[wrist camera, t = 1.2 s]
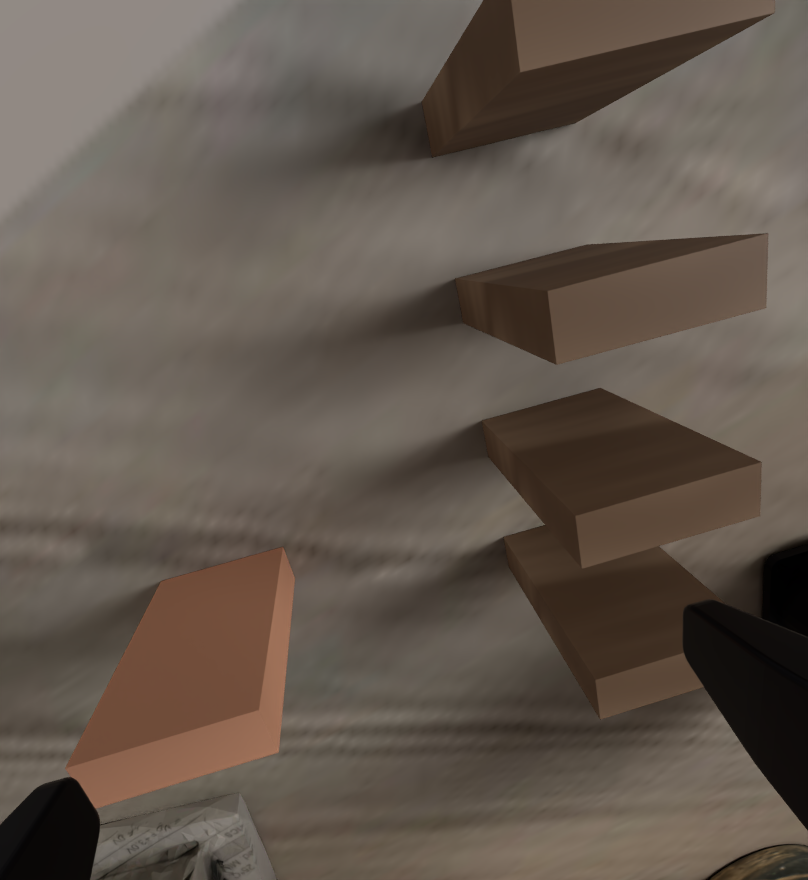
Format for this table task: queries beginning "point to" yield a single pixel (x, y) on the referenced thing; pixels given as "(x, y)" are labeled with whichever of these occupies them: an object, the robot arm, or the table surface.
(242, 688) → the domino
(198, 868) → the packaged product
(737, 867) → the jar
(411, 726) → the table surface
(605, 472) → the domino
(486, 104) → the domino
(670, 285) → the domino
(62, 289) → the table surface
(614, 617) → the domino
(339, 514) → the table surface
